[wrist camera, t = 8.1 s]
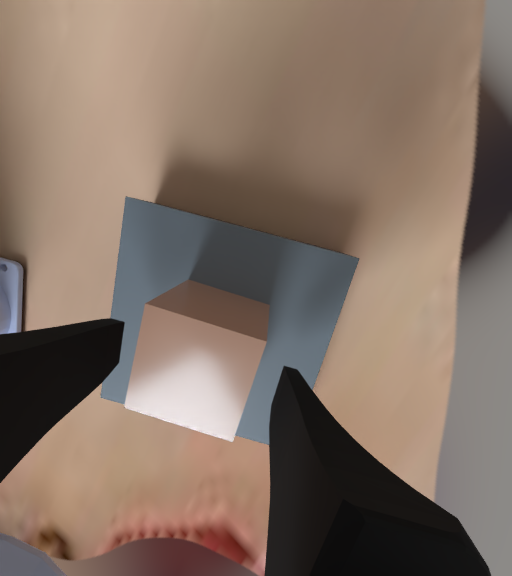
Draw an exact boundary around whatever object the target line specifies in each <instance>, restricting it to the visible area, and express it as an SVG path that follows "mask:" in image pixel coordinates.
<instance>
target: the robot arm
mask: <svg viewBox="0 0 512 576" xmlns="http://www.w3.org/2000/svg"><path fill="white" fill-rule="evenodd" d="M6 266H7V268H6ZM22 292H23V267H22V265H21V264H20V263H18V262H16V261H12V260H8V259H5V258H1V257H0V483H1V482H2V480H3V479H4V478H5V477H6V476H7V475H8V474H9V473H10V472H11V470H12V469H13V468H14V467H15V466H16V465H17V464H18V463H19V462H20V460H21V459H22V458H23V457H24V456H25V455H26V454H27V453H28V452H29V451H30V450H31V449H32V448H33V447H34V446H35V444H36V443H37V442H38V441H39V440H40V439H41V438H42V437H43V436H44V435H45V434H46V433H47V432H48V431H49V430H50V429H51V428H52V427H53V426H54V425H55V424H56V423H58V422H59V421H60V420H61V419H62V418H63V417H64V416H65V415H66V414H68V413H69V412H70V411H71V410H72V409H73V408H74V407H75V406H77V405H78V404H79V403H80V402H81V401H82V400H83V399H84V398H86V397H87V396H88V395H89V394H90V393H91V392H92V391H93V390H94V389H96V388H97V387H98V386H99V385H100V384H101V383H102V382H103V381H104V380H105V379H106V378H107V377H108V376H109V374H110V373H111V372H112V371H113V370H114V368H115V367H116V366H117V365H118V364H119V360H120V353H121V346H122V339H123V332H124V325H125V322H123V321H119V320H116V319H112V318H110V319H100V320H93V321H87V322H81V323H76V324H70V325H64V326H58V327H52V328H45V329H39V330H32V331H25V332H21V321H22ZM269 450H270V509H269V525H268V539H267V552H266V565H265V576H491V574H490V571H489V568H488V566H487V564H486V562H485V561H484V559H483V558H482V556H481V555H480V553H479V552H478V550H477V548H476V547H475V545H474V543H473V542H472V540H471V539H470V537H469V536H468V534H467V533H466V531H465V529H464V528H463V526H462V524H461V523H460V521H459V520H458V519H457V518H456V517H455V516H453V515H452V514H450V513H449V512H447V511H446V510H444V509H443V508H441V507H440V506H438V505H437V504H435V503H434V502H432V501H431V500H430V499H428V498H427V497H425V496H424V495H422V494H421V493H419V492H418V491H416V490H415V489H414V488H412V487H411V486H410V485H408V484H407V483H406V482H404V481H403V480H402V479H400V478H399V477H398V476H396V475H395V474H394V473H392V472H391V471H390V470H389V469H388V468H386V467H385V466H384V465H383V464H381V463H380V462H379V461H378V460H377V459H375V458H374V457H373V456H372V455H371V454H370V453H369V452H368V451H366V450H365V449H364V448H363V447H362V446H361V445H360V444H359V443H358V442H357V441H356V440H355V439H353V437H352V436H351V435H350V434H349V433H348V432H347V431H346V430H345V429H344V428H343V427H342V426H341V425H340V424H339V423H338V422H337V421H336V420H335V418H334V417H333V416H332V415H331V414H330V413H329V411H328V410H327V409H326V408H325V406H324V405H323V404H322V403H321V401H320V400H319V399H318V397H317V396H316V395H315V393H314V392H313V391H312V389H311V388H310V386H309V385H308V383H307V382H306V381H305V379H304V378H303V376H302V375H301V373H300V372H299V371H298V369H294V368H291V367H287V366H283V369H282V373H281V376H280V379H279V382H278V385H277V388H276V392H275V395H274V398H273V401H272V404H271V412H270V422H269ZM0 576H66V574H65V573H64V572H63V571H62V570H61V569H60V568H59V567H58V566H57V565H56V564H55V563H54V561H52V559H51V558H50V557H49V556H48V555H47V554H46V553H45V552H43V551H41V550H39V549H37V548H35V547H33V546H31V545H29V544H27V543H25V542H23V541H21V540H19V539H17V538H15V537H12V536H9V535H6V534H2V533H0Z"/></svg>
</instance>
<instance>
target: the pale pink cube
mask: <svg viewBox="0 0 512 576" xmlns="http://www.w3.org/2000/svg"><path fill="white" fill-rule="evenodd" d="M269 308H270V305H268V304H265V303H262V302H259V301H255V300H252V299H249V298H246V297H243V296H240V295H236V294H233V293H230V292H227V291H224V290H220V289H217V288H214V287H211V286H208V285H205V284H201V283H198V282H195V281H192V280H189V279H188V280H186V281H185V282H183V283H181V284H179V285H177V286H176V287H174V288H172V289H170V290H168V291H167V292H165V293H163V294H161V295H159V296H158V297H156V298H154V299H152V300H150V301H149V302H147V303H145V306H144V311H143V316H142V321H141V326H140V331H139V336H138V341H137V346H136V351H135V356H134V360H133V365H132V370H131V375H130V380H129V385H128V390H127V395H126V400H125V405H124V408H127V409H130V410H133V411H137V412H140V413H143V414H146V415H149V416H152V417H155V418H159V419H162V420H165V421H168V422H171V423H174V424H177V425H181V426H184V427H187V428H190V429H193V430H196V431H199V432H202V433H206V434H209V435H212V436H215V437H218V438H221V439H224V440H228V441H231V442H233V439H234V436H235V433H236V430H237V428H238V425H239V422H240V419H241V416H242V413H243V410H244V407H245V404H246V401H247V398H248V395H249V392H250V389H251V387H252V384H253V381H254V378H255V375H256V372H257V369H258V366H259V363H260V360H261V357H262V354H263V351H264V349H265V346H266V343H267V333H268V321H269Z"/></svg>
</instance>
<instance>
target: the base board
mask: <svg viewBox="0 0 512 576" xmlns="http://www.w3.org/2000/svg"><path fill="white" fill-rule="evenodd" d="M358 261H359V258H356V257H353V256H350V255H347V254H344V253H340V252H337V251H333V250H329V249H325V248H322V247H318V246H314V245H310V244H307V243H303V242H299V241H295V240H292V239H288V238H284V237H280V236H277V235H273V234H269V233H265V232H261V231H258V230H254V229H250V228H246V227H243V226H239V225H235V224H231V223H228V222H224V221H220V220H216V219H213V218H209V217H205V216H201V215H198V214H194V213H190V212H186V211H183V210H179V209H175V208H171V207H167V206H164V205H160V204H156V203H152V202H148V201H144V200H139V199H135V198H130V197H126V198H125V206H124V214H123V222H122V230H121V238H120V246H119V254H118V262H117V270H116V278H115V286H114V294H113V302H112V310H111V318H112V319H116V320H119V321H123V322H125V325H124V332H123V339H122V346H121V353H120V360H119V364H118V365H117V366H116V367H115V368H114V370H113V371H112V372H111V373H110V374H109V376H108V377H107V378H106V379H105V380H104V381H103V382H102V390H101V398H103V399H107V400H111V401H114V402H118V403H121V404H125V400H126V395H127V390H128V385H129V380H130V375H131V370H132V365H133V360H134V356H135V351H136V346H137V341H138V336H139V331H140V326H141V321H142V316H143V311H144V306H145V303H147V302H149V301H150V300H152V299H154V298H156V297H158V296H159V295H161V294H163V293H165V292H167V291H168V290H170V289H172V288H174V287H176V286H177V285H179V284H181V283H183V282H185V281H186V280H188V279H189V280H192V281H195V282H198V283H201V284H205V285H208V286H211V287H214V288H217V289H220V290H224V291H227V292H230V293H233V294H236V295H240V296H243V297H246V298H249V299H252V300H255V301H259V302H262V303H265V304H268V305H270V308H269V321H268V333H267V343H266V346H265V349H264V351H263V354H262V357H261V360H260V363H259V366H258V369H257V372H256V375H255V378H254V381H253V384H252V387H251V389H250V392H249V395H248V398H247V401H246V404H245V407H244V410H243V413H242V416H241V419H240V422H239V425H238V428H237V430H236V433H235V436H239V437H243V438H246V439H250V440H253V441H257V442H260V443H264V444H268V445H269V422H270V412H271V404H272V401H273V398H274V395H275V392H276V388H277V385H278V382H279V379H280V376H281V373H282V369H283V366H287V367H291V368H294V369H298V371H299V372H300V373H301V375H302V376H303V378H304V379H305V381H306V382H307V383H308V385H309V386H310V388H311V389H312V390H313V387H314V384H315V381H316V378H317V376H318V373H319V370H320V367H321V364H322V362H323V359H324V356H325V353H326V350H327V348H328V345H329V342H330V339H331V337H332V334H333V331H334V328H335V325H336V323H337V320H338V317H339V314H340V311H341V309H342V306H343V303H344V300H345V297H346V295H347V292H348V289H349V286H350V283H351V281H352V278H353V275H354V272H355V269H356V267H357V264H358Z"/></svg>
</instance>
